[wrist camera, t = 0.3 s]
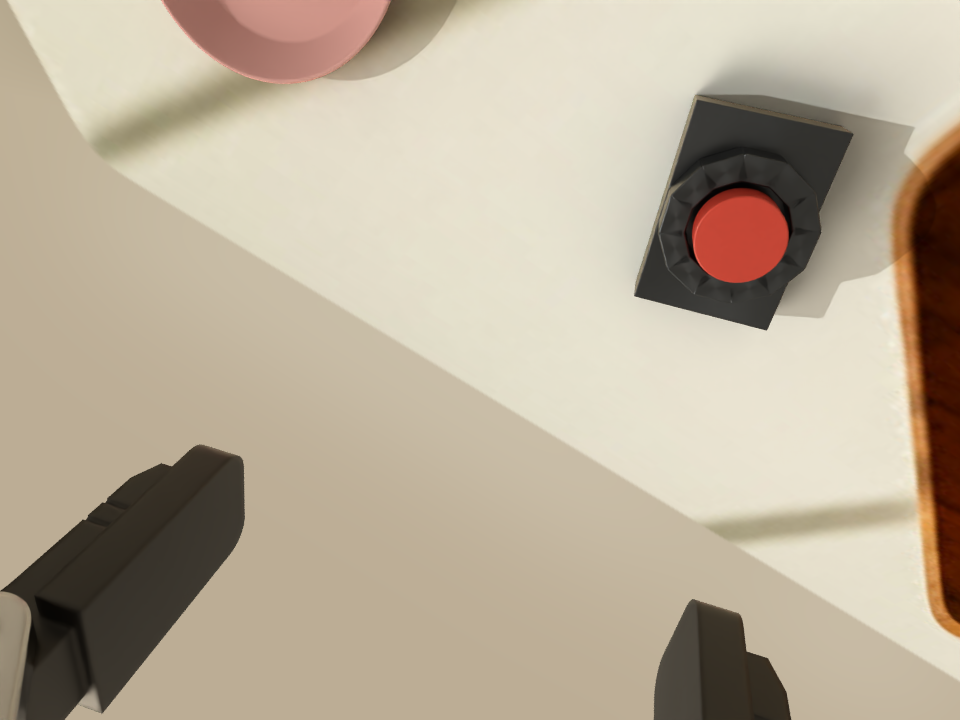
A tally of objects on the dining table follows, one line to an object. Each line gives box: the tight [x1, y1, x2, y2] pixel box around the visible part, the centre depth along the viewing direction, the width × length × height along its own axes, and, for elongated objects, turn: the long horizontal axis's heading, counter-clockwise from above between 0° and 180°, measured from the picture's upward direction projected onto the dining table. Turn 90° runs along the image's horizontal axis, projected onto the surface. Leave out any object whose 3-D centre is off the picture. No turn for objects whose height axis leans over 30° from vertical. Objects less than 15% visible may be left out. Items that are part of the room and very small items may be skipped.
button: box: [692, 188, 789, 283], centre depth 30 cm, size 4×4×2 cm
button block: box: [634, 95, 853, 330], centre depth 32 cm, size 10×7×4 cm
